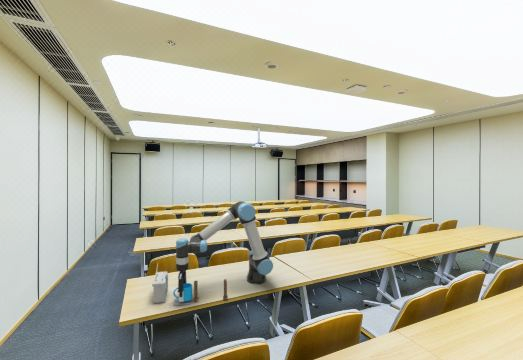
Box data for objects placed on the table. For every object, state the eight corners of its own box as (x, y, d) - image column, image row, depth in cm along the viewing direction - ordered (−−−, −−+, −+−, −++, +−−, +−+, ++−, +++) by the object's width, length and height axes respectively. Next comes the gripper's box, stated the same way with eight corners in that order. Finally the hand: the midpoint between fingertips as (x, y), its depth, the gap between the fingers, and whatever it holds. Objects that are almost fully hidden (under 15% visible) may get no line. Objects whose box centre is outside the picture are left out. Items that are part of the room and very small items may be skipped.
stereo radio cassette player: (165, 303, 159) (165, 272, 158) (151, 304, 156) (151, 273, 156) (168, 288, 179) (168, 261, 178) (156, 290, 176) (155, 262, 176)
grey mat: (191, 297, 166) (191, 296, 166) (189, 304, 156) (189, 304, 156) (176, 298, 165) (176, 297, 165) (172, 305, 155) (172, 305, 155)
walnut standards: (227, 297, 166) (227, 278, 166) (227, 300, 162) (227, 280, 162) (194, 299, 164) (193, 280, 163) (193, 302, 160) (193, 282, 159)
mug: (193, 294, 166) (192, 282, 166) (191, 300, 158) (191, 288, 157) (174, 296, 164) (174, 284, 164) (172, 302, 156) (171, 289, 155)
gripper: (179, 258, 170) (179, 290, 171) (172, 269, 149) (172, 306, 150) (190, 257, 171) (191, 290, 171) (185, 268, 150) (185, 306, 151)
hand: (182, 298), depth 161 cm, fingers closed on mug, 8 cm apart
